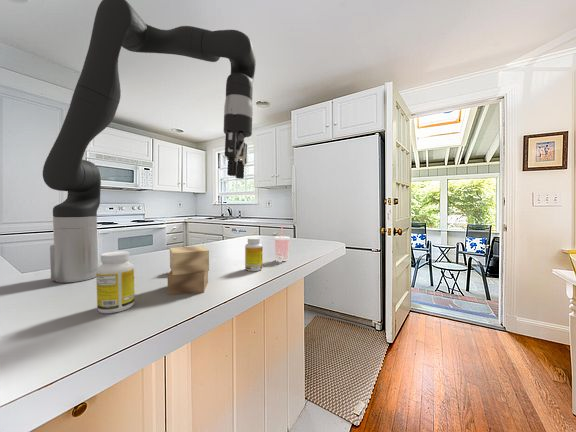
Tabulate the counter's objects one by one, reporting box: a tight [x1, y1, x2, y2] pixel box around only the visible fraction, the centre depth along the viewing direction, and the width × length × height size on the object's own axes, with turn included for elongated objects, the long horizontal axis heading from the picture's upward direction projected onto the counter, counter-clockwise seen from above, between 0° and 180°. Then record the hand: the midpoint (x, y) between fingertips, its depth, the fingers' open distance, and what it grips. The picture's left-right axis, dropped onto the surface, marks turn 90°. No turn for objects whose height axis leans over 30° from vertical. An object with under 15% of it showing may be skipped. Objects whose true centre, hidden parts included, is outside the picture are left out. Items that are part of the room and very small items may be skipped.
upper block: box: [169, 245, 210, 275], centre depth 62 cm, size 8×8×5 cm
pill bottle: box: [95, 250, 136, 314], centre depth 50 cm, size 6×6×11 cm
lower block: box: [167, 270, 209, 296], centre depth 62 cm, size 8×8×5 cm
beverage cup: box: [273, 223, 291, 262], centre depth 93 cm, size 6×6×14 cm
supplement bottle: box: [244, 237, 264, 272], centre depth 80 cm, size 6×6×10 cm
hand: (236, 177), depth 68 cm, fingers open, 8 cm apart
